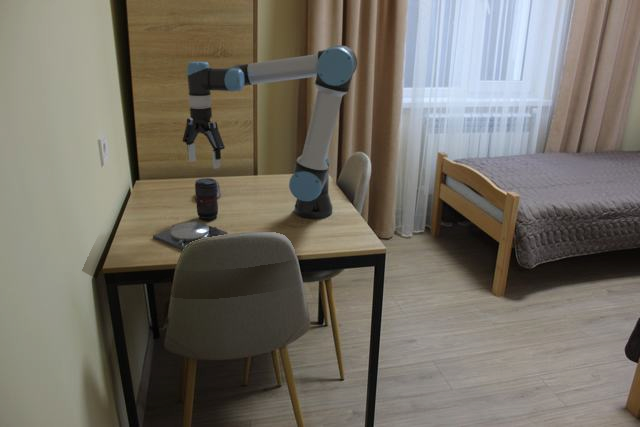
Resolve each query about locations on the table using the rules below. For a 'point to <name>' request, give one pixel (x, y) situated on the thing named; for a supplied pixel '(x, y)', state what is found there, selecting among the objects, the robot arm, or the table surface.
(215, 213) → the camera lens
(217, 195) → the caster wheel
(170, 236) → the mount board
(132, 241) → the table surface
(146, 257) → the table surface
